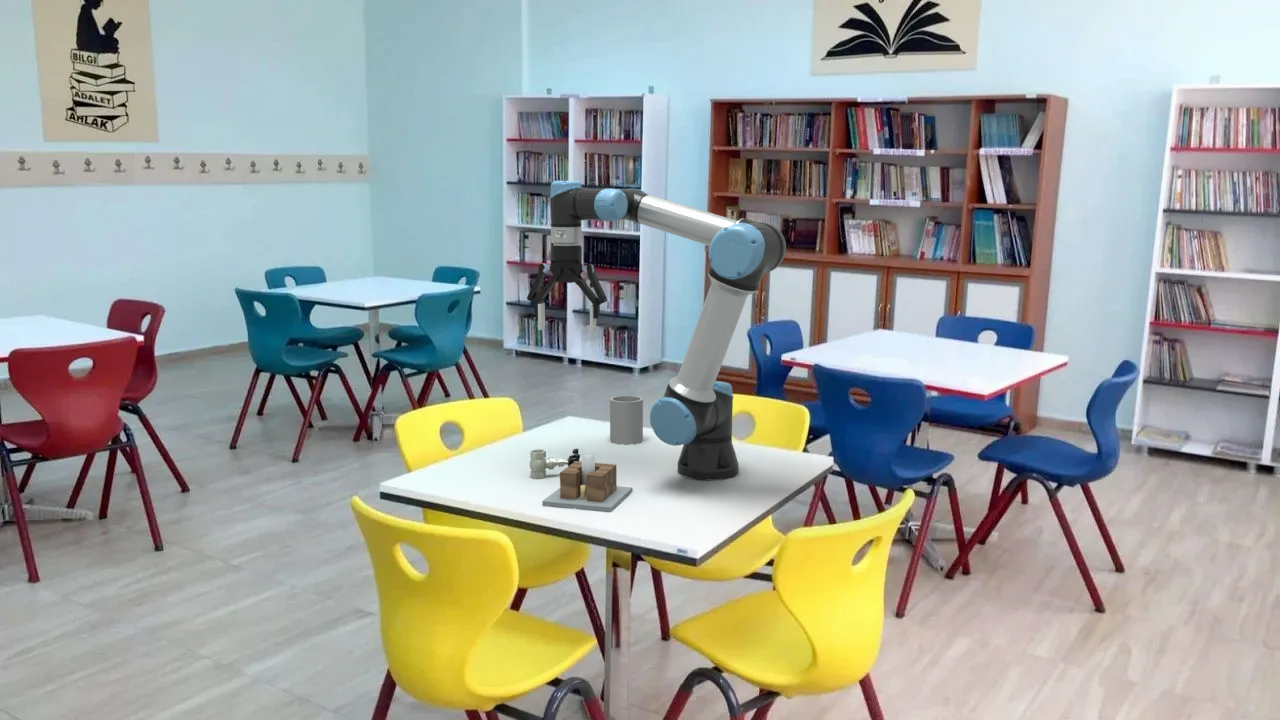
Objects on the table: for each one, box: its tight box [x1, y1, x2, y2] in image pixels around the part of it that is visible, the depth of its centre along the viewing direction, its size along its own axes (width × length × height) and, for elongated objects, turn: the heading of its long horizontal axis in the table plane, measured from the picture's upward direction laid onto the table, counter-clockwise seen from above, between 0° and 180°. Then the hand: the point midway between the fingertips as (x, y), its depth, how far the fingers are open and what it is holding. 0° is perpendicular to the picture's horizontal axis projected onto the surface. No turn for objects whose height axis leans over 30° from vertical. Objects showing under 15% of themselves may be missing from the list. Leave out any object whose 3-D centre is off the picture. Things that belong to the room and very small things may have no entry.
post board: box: [541, 453, 634, 513], centre depth 234 cm, size 16×16×10 cm
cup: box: [609, 395, 644, 446], centre depth 287 cm, size 9×9×12 cm
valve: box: [529, 448, 581, 480], centre depth 252 cm, size 7×7×12 cm
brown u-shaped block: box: [559, 461, 618, 502], centre depth 234 cm, size 10×10×6 cm
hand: (567, 330), depth 256 cm, fingers open, 13 cm apart
